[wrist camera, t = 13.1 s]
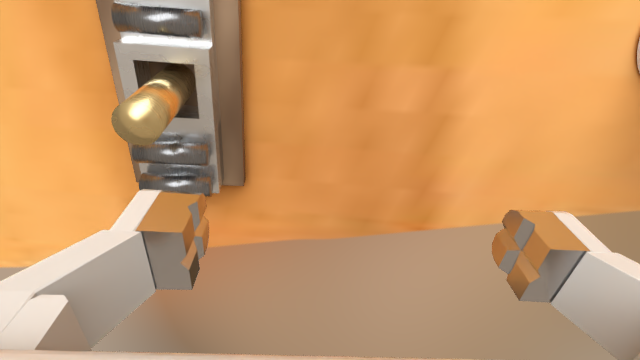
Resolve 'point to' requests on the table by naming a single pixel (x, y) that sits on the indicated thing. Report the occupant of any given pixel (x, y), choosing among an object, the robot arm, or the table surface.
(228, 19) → the chain base
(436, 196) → the table surface
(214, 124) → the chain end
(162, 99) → the pin
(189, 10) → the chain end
